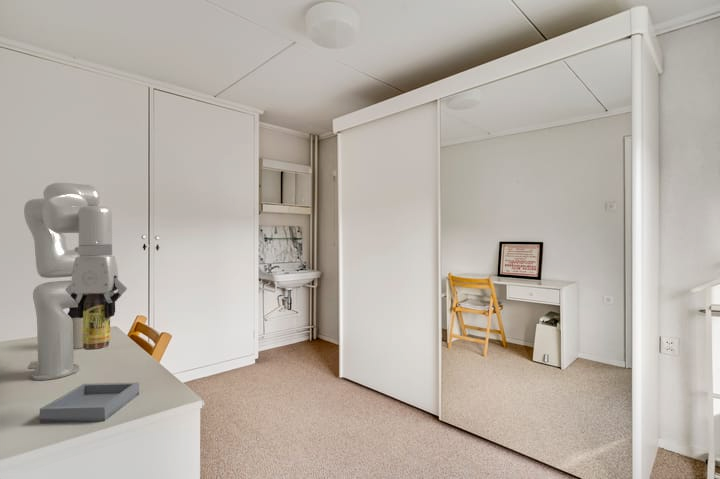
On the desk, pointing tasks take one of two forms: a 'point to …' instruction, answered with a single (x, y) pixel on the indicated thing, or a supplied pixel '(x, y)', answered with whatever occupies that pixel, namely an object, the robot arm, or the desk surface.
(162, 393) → the desk surface
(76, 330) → the travel mug
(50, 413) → the tray
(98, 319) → the sauce bottle
